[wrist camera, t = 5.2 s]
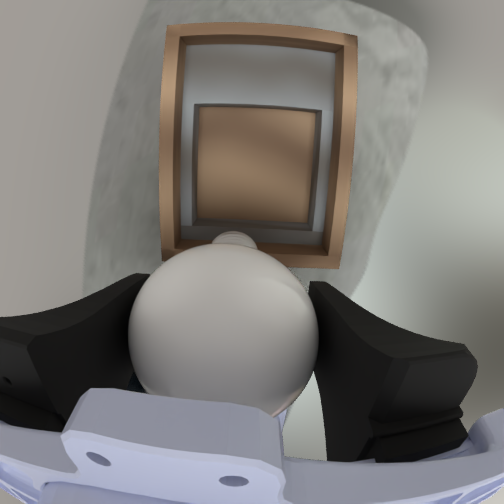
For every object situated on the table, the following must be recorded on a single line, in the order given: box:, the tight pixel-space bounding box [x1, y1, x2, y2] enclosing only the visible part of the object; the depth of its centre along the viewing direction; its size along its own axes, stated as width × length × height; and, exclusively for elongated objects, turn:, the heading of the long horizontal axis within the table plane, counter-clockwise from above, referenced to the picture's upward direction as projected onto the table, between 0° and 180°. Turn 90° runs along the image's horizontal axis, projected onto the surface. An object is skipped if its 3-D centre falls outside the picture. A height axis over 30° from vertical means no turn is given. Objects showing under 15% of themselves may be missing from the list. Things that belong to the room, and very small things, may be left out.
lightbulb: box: [128, 231, 319, 418], centre depth 12 cm, size 6×6×11 cm
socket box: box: [159, 22, 358, 269], centre depth 17 cm, size 14×11×4 cm
